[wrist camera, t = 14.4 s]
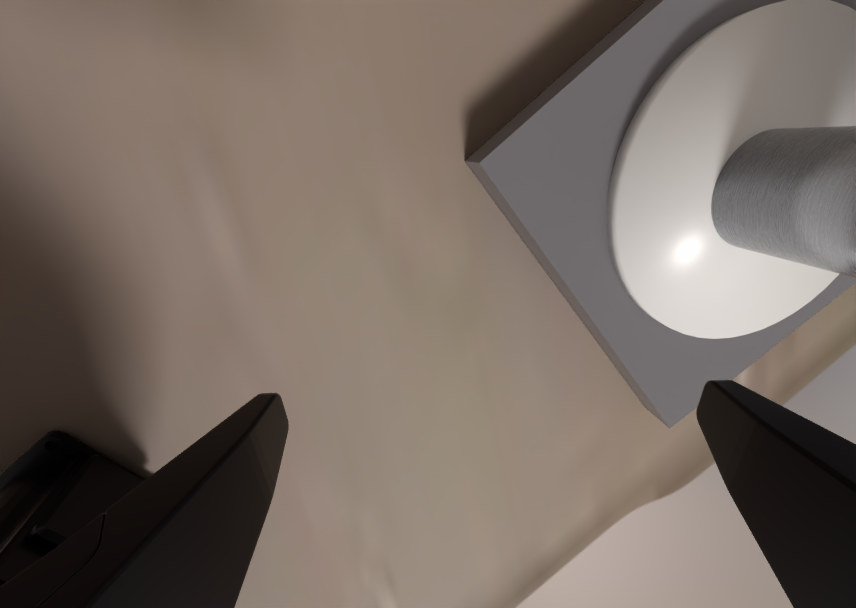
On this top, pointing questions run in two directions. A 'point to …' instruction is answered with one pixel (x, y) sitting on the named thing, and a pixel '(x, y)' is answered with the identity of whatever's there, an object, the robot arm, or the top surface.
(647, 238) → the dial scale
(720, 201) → the ball
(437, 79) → the top surface
